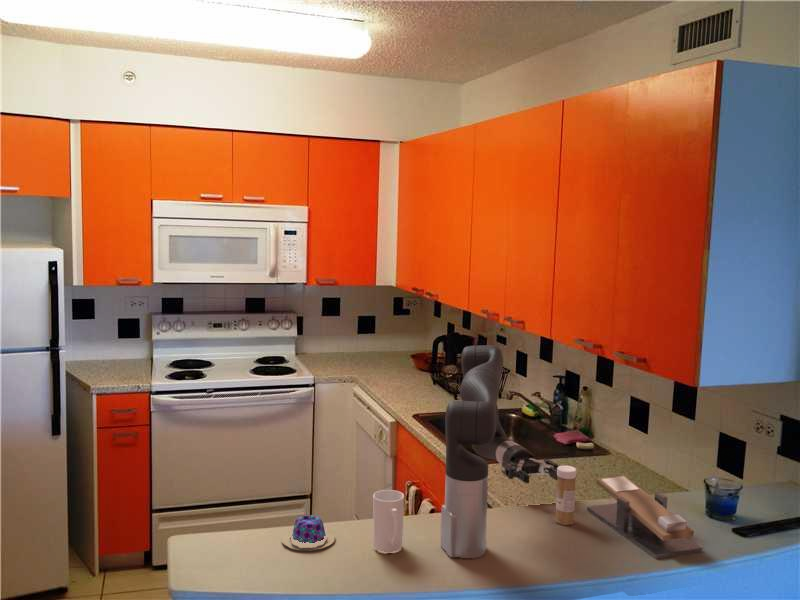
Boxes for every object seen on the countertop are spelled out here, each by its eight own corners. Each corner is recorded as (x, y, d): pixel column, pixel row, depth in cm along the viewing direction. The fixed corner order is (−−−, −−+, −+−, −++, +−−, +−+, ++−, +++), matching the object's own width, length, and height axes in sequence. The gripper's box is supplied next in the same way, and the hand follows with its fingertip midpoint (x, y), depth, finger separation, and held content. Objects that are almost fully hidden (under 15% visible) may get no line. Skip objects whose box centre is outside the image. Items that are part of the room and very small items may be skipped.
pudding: (346, 540, 163) (346, 517, 162) (309, 559, 153) (309, 536, 153) (307, 526, 170) (307, 504, 169) (270, 544, 160) (270, 521, 160)
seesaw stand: (656, 559, 155) (657, 523, 154) (586, 510, 181) (588, 479, 180) (701, 551, 159) (704, 517, 158) (627, 505, 184) (629, 475, 183)
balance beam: (661, 540, 156) (663, 527, 155) (595, 482, 180) (597, 471, 179) (693, 536, 158) (696, 523, 158) (624, 479, 182) (626, 468, 182)
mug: (369, 542, 161) (369, 491, 160) (398, 539, 163) (399, 488, 161) (380, 563, 151) (381, 508, 150) (411, 559, 153) (412, 505, 152)
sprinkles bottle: (552, 518, 176) (554, 464, 174) (570, 517, 176) (572, 464, 175) (558, 526, 171) (560, 471, 170) (577, 525, 172) (579, 471, 170)
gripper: (491, 446, 196) (518, 466, 181) (537, 442, 200) (568, 461, 185) (490, 473, 197) (517, 495, 181) (536, 468, 201) (567, 489, 186)
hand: (543, 478), depth 183 cm, fingers open, 8 cm apart
